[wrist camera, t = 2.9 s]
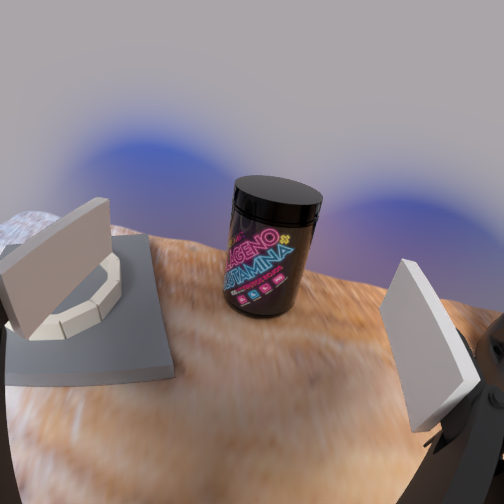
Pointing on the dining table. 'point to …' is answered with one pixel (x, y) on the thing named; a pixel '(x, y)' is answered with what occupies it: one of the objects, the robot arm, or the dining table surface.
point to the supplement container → (268, 244)
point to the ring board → (98, 328)
